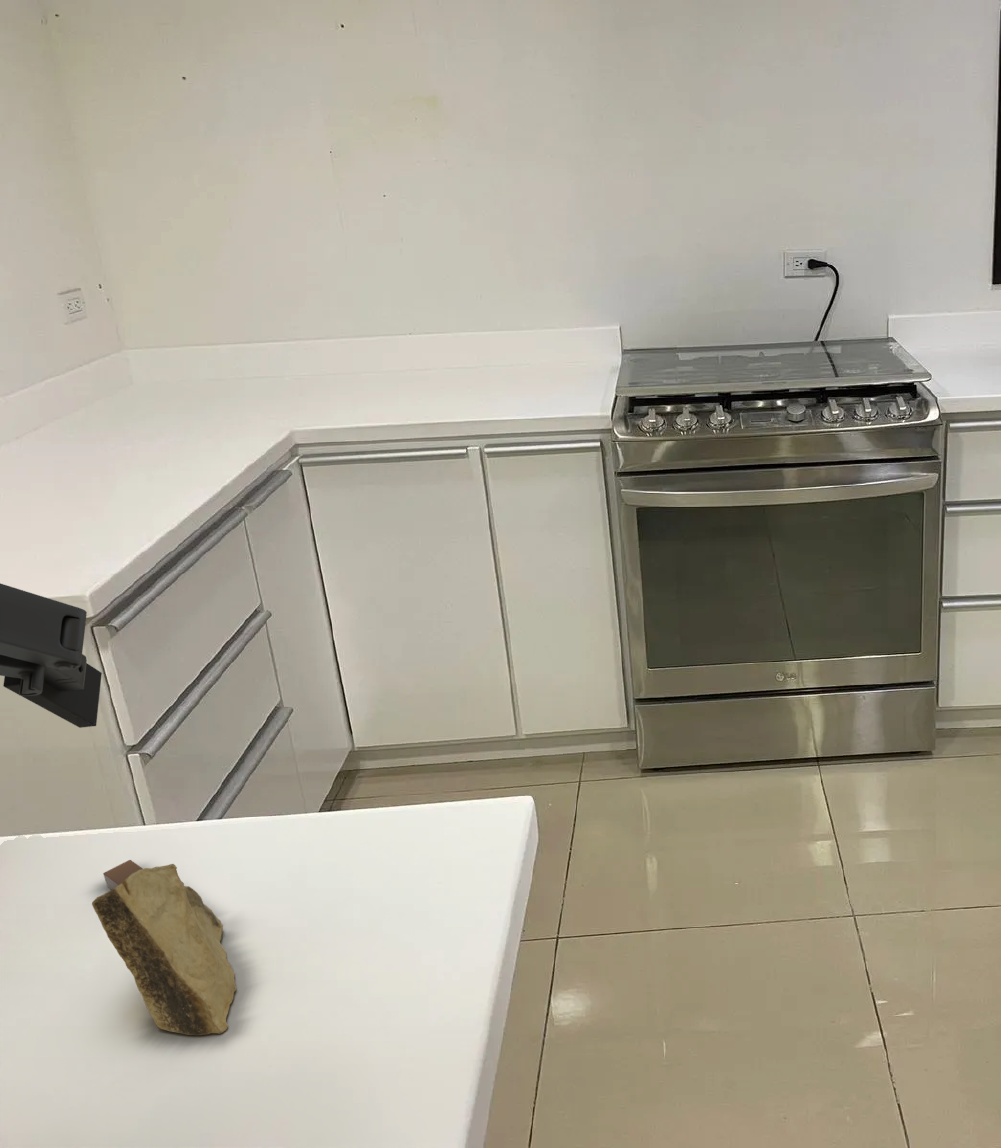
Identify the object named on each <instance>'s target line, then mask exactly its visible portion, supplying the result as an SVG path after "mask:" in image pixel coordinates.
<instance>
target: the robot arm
mask: <svg viewBox="0 0 1001 1148" xmlns="http://www.w3.org/2000/svg"><path fill="white" fill-rule="evenodd" d="M87 614H88V611H86V609H83V608H81V607H78V606H74V605H71V604H68V603H64V602H62V601H59V600H56V599H52V598H49V597H45V596H43V595H40V594H35V593H32V592H29V591H27V590H23V589H20V588H17V587H14V586H10V585H7V584H4V583H0V676H2V677H4V678H3V684H2V685H3V687H4V688H5V689H7V690H9V691H11V692H13V693H15V694H17V695H18V696H20V697H22V698H24V699H25V700H26V699H27V701H29V702H32V703H33V704H35V705H37V706H39V707H41V708H42V709H44V710H46V711H48V712H50V713H52V714H54V715H55V716H56V717H59V718H60V719H63V720H65V721H67V722H68V723H70V724H72V725H74V726H76V727H78V728H80V729H81V728H90V727H91V728H92V727H97V723H98V722H97V721H98V714H99V713H98V712H99V703H100V693H101V683H102V674H103V672H102V671H100V670H98V669H96V668H95V667H94V666H92V665H90V664H89V663H87V661H88V660H87V656H86V655H85V654H83V652H84V651H83V649H84V641H85V640H84V639H85V632H86V623H87Z"/></svg>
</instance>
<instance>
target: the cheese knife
mask: <svg viewBox="0 0 1001 1148" xmlns="http://www.w3.org/2000/svg"><path fill="white" fill-rule="evenodd" d="M141 869H144V867H141V866H140V865H138V864H137V863H136V862H135V861H134V860H132V859H129V860H127V861H124V862H123V863H121V864H119V865H116V866H114V867H112V868H111V869H109V870H106V871H105V872H103V878H104V881H105V883H106V884H105V885H106V886H107V887H108V888H109V889H111V890H112V889H114V888H115V887H117V886H119V885H120V884H121V883H122V882H123V881H124V880H125V879H126V878H127V877H129V876H130V875H131V874H132V873H134V872H136V871H138V870H141Z"/></svg>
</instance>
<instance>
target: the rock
mask: <svg viewBox="0 0 1001 1148" xmlns="http://www.w3.org/2000/svg"><path fill="white" fill-rule="evenodd" d="M91 906H92V908H93V910H94V912H95V914H96V915H97V917H98V920H99V921H100V924H101V926H102V928H103V930H104V932H105V934H106V936H107V938H108V939H109V942H110V943H112V946H113V948H114V949H115V950H116V952H117V954H118V956H119V957H120V958H121V959H122V960H123V962H124V963H125V966H126V968H127V970H128V971H129V972H130V973H131V974H132V976H133V978H134V979H133V980H134V982H135V985H136V987H137V989H138V991H139V993H140V994H141V996H142V999H143V1002H144V1004H145V1007H146V1008H147V1010H148V1012H149V1014H150V1015H151V1017H152V1019H153V1021H154V1023H155V1025H156V1027H158V1028H159V1029H160V1030H164V1031H168V1032H173V1033H177V1034H181V1035H187V1036H204V1035H210V1034H219V1035H220V1034H222V1033H224V1032H226V1031H227V1029H228V1026H229V1025H228V1023H227V1016H228V1014H229V1010H230V1007H231V1004H232V1003H233V1001H234V1000H233V999H234V995H235V992H236V991H237V985H236V981H235V970H233V968H232V964H231V963H230V962H229V961H228V958H227V955H228V953H227V952H226V950H225V948H224V946H223V944H222V943H221V939H222V933H223V930H224V924H222V920H221V919H219V918H218V917H217V915H216V914H215V913H214V912H213V910H212V909H211V908H210V907H208V906H207V905H206V904H204V901H203V898H202V897H201V895H200V894H199V893H198V892H197V891H196V890H195V889H194V888H192V887H191V886H187V885H185V884H184V882H183V881H182V880H181V878H180V876H179V874H178V867H177V865H176V864H174V863H170V864H167V865H160V866H154V867H145V868H144V867H143V869H141V870H138V871H136V872H134V873H132V874H131V875H130V876H129V877H127V878H126V879H125V880H124V881H123V882H122V883H121V884H120V885H119V886H117V887H115V888H114V889H111V890H109V891H107V892H106V893H103V894H101V895H99V896H97V897H96V898H94V900H93V901H91Z"/></svg>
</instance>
